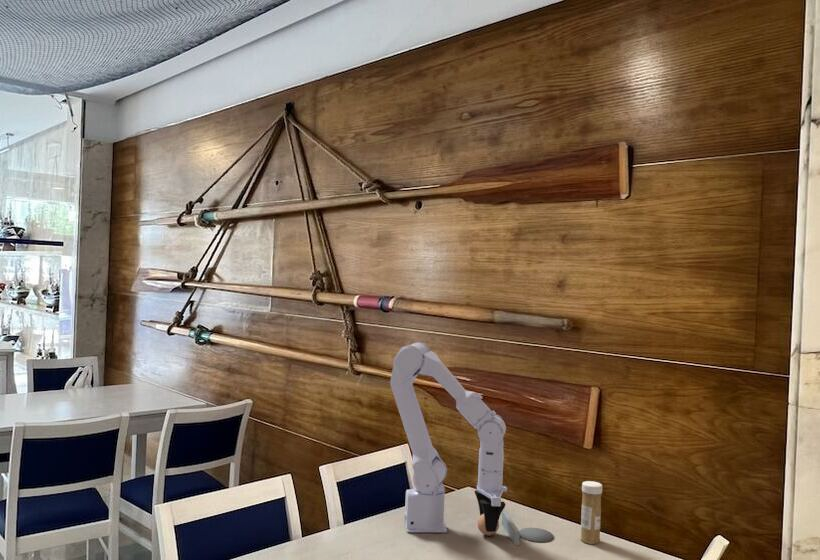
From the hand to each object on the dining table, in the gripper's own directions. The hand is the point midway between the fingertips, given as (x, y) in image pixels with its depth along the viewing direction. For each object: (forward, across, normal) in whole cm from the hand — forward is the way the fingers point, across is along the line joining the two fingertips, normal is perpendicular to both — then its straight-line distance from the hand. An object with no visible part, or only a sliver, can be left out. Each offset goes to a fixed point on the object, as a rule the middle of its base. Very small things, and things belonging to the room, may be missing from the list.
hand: (488, 526), depth 155 cm
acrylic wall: (+2, +1, -6) cm, 6 cm away
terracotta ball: (+2, 0, 0) cm, 2 cm away
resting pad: (+2, 0, -12) cm, 12 cm away
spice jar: (+2, -3, -24) cm, 24 cm away
